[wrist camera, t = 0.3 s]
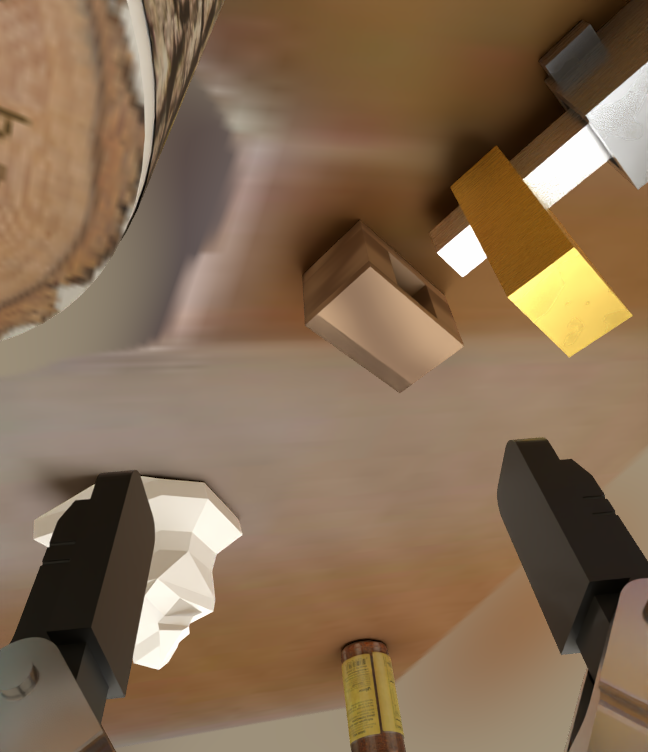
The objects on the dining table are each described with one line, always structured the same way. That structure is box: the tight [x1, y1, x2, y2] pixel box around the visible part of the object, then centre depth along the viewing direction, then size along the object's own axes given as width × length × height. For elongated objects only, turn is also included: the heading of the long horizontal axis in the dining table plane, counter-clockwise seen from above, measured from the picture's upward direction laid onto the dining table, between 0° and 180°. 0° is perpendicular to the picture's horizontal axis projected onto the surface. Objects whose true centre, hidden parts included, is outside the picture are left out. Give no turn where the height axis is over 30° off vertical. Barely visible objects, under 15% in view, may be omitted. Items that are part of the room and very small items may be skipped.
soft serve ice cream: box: [33, 476, 243, 670], centre depth 47 cm, size 12×15×14 cm
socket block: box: [302, 220, 464, 393], centre depth 34 cm, size 5×8×5 cm, turn 47°
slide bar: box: [429, 108, 632, 357], centre depth 25 cm, size 16×5×10 cm, turn 136°
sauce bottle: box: [341, 640, 406, 752], centre depth 65 cm, size 7×6×20 cm
